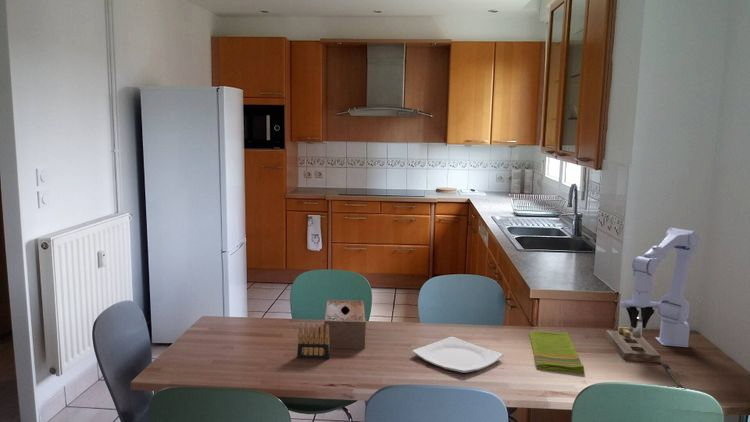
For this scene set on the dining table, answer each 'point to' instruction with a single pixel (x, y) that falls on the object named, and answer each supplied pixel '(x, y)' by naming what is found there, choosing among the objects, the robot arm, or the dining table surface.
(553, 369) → the dish towel
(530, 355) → the dining table surface
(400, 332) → the dining table surface
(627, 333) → the key
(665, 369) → the tactical tomahawk
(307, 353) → the ammunition clip
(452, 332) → the dining table surface
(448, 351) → the plate
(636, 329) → the peg
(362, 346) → the tissue box cover
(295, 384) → the dining table surface
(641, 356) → the board
